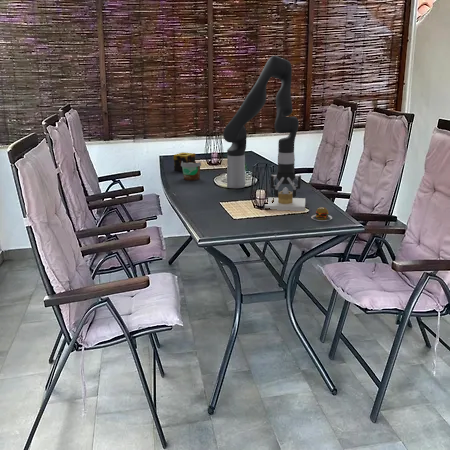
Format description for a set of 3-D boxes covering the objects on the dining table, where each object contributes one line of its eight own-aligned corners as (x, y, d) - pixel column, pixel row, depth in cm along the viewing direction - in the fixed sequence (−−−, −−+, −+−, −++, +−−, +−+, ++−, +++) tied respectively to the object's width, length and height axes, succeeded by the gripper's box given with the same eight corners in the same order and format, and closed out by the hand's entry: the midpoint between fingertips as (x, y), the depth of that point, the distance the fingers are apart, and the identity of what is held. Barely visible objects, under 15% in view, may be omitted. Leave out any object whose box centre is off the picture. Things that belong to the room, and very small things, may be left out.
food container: (177, 180, 288) (176, 163, 285) (182, 177, 294) (181, 160, 291) (197, 181, 284) (196, 164, 281) (201, 179, 289) (201, 162, 286)
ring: (278, 203, 231) (278, 194, 229) (278, 199, 237) (278, 190, 235) (292, 203, 230) (292, 194, 228) (292, 200, 236) (292, 191, 234)
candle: (196, 169, 316) (196, 153, 313) (187, 172, 308) (186, 156, 305) (183, 167, 321) (182, 152, 318) (173, 170, 313) (173, 154, 310)
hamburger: (317, 213, 223) (318, 201, 222) (341, 219, 215) (342, 206, 214) (301, 220, 215) (302, 208, 214) (325, 226, 207) (326, 213, 206)
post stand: (264, 210, 229) (264, 190, 226) (267, 201, 242) (267, 183, 239) (304, 210, 226) (305, 191, 223) (305, 202, 239) (305, 184, 236)
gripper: (269, 163, 225) (269, 199, 230) (302, 163, 222) (301, 199, 228) (270, 160, 232) (270, 194, 237) (302, 160, 229) (301, 195, 235)
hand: (285, 197), depth 232 cm, fingers open, 7 cm apart
